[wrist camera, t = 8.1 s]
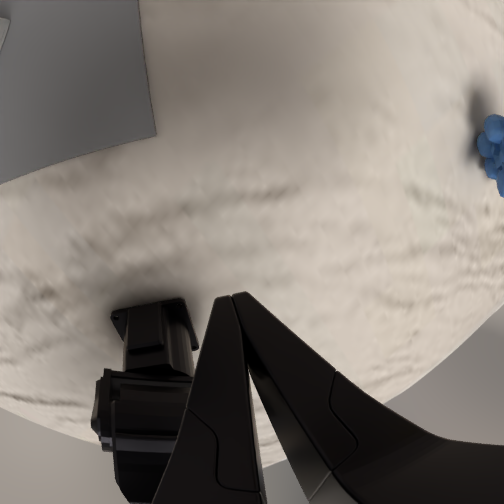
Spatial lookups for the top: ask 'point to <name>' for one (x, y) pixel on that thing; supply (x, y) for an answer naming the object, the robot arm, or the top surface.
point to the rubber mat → (70, 81)
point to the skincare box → (3, 29)
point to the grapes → (493, 149)
